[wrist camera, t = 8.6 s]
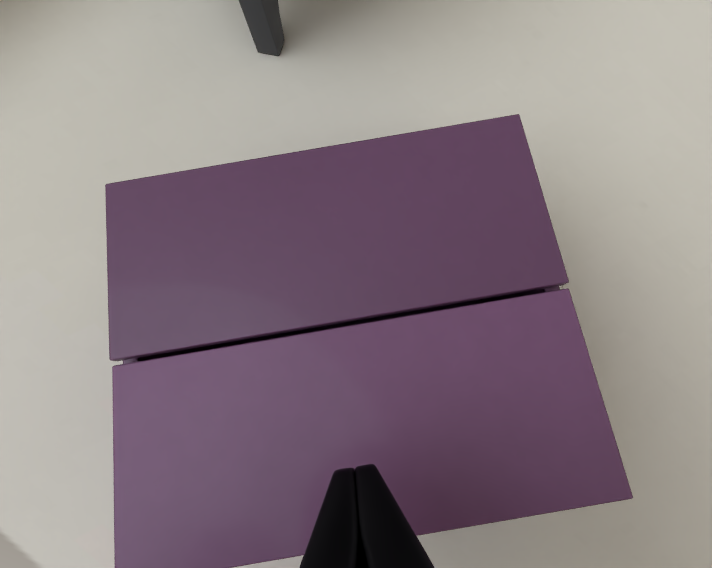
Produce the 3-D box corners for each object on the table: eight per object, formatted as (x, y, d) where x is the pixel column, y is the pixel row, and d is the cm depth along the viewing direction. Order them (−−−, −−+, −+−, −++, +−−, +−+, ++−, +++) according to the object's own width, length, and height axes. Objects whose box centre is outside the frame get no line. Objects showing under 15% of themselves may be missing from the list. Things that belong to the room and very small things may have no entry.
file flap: (626, 495, 12) (634, 499, 12) (122, 582, 12) (114, 588, 12) (563, 291, 14) (569, 287, 13) (119, 366, 14) (112, 365, 13)
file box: (529, 457, 20) (637, 501, 12) (219, 511, 20) (112, 591, 12) (468, 212, 23) (520, 111, 15) (199, 257, 23) (103, 181, 14)
